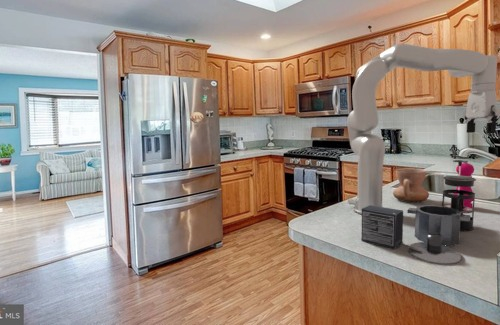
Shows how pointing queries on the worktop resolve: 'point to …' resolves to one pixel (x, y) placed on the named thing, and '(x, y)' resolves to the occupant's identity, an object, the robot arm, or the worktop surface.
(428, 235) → the lid
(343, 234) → the worktop surface
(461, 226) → the french press
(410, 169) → the ceramic jug
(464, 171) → the pepper mill
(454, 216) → the pot
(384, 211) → the small box
